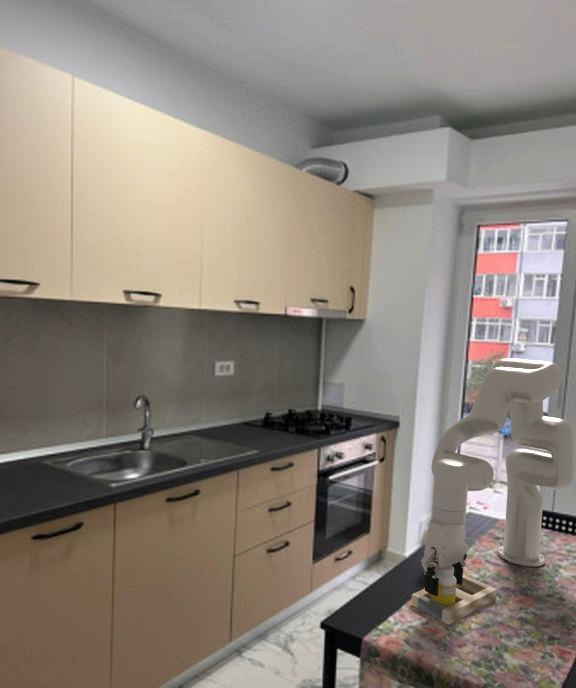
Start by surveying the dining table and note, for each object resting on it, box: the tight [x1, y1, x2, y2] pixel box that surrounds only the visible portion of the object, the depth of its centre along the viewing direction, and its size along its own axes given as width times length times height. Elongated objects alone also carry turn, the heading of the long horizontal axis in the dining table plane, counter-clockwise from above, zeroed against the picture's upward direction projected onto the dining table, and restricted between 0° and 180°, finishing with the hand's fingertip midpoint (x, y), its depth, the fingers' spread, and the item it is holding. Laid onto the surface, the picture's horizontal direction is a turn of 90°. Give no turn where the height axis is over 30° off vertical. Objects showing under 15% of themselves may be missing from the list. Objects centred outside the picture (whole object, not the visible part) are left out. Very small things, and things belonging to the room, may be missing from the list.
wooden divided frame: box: [410, 574, 498, 626], centre depth 126 cm, size 20×10×2 cm, turn 129°
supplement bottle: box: [431, 565, 456, 607], centre depth 123 cm, size 5×5×10 cm
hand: (443, 587), depth 123 cm, fingers open, 9 cm apart
